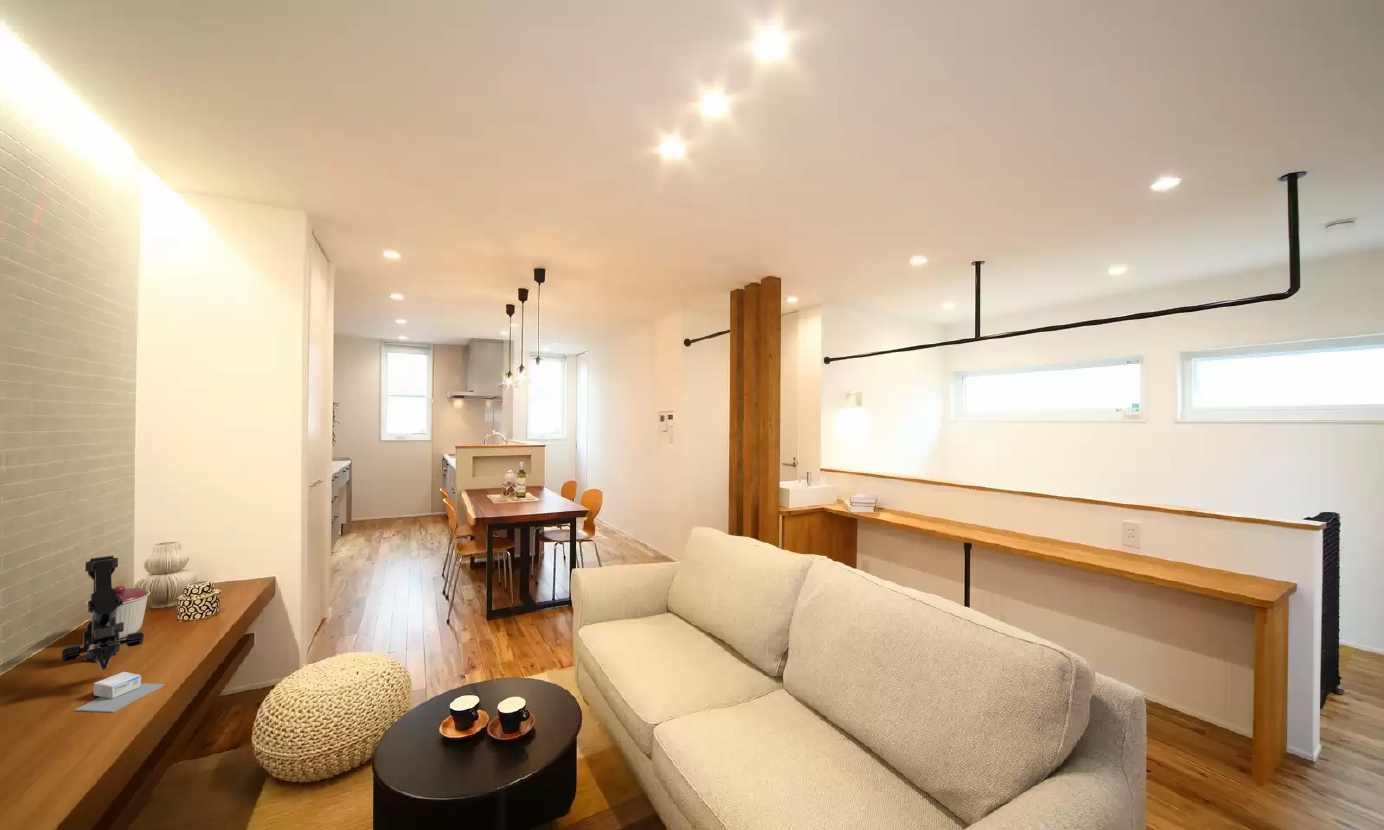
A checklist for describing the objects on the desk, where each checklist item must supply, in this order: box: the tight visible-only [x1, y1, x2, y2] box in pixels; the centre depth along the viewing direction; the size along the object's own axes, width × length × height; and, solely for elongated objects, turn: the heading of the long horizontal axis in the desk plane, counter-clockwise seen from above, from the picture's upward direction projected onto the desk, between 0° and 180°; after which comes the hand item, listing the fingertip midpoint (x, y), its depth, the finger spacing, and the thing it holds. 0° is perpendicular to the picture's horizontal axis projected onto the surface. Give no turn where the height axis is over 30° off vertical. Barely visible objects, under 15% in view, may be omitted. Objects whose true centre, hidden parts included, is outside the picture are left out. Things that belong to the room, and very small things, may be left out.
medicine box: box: [93, 671, 142, 699], centre depth 174 cm, size 8×4×9 cm
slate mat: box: [74, 682, 165, 714], centre depth 171 cm, size 12×16×1 cm
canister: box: [85, 585, 151, 640], centre depth 213 cm, size 18×18×21 cm
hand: (104, 669), depth 174 cm, fingers closed
